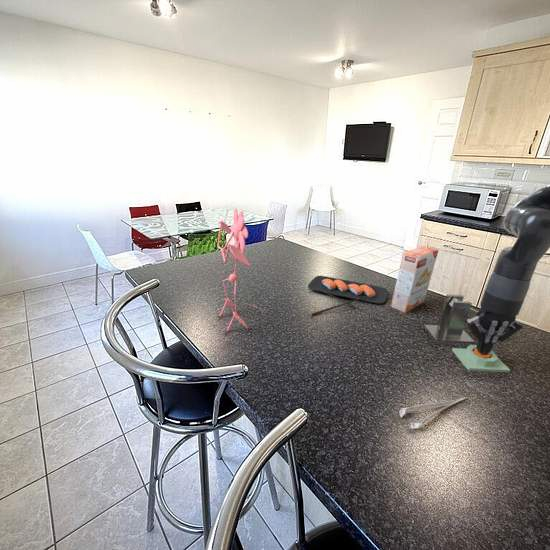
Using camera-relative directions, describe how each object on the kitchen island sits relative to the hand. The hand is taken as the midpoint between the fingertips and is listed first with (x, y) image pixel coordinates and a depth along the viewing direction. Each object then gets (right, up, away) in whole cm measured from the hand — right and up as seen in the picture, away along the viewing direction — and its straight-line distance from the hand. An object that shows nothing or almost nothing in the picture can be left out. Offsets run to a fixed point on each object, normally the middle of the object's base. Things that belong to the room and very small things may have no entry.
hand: (482, 352), depth 75 cm
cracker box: (-6, +9, +29) cm, 31 cm away
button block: (0, -3, +2) cm, 4 cm away
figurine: (-63, +6, +19) cm, 66 cm away
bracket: (-2, +1, +13) cm, 13 cm away
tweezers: (-19, -9, -13) cm, 24 cm away
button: (0, -2, +1) cm, 2 cm away
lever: (+3, +9, +9) cm, 13 cm away
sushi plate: (-29, +10, +32) cm, 44 cm away
